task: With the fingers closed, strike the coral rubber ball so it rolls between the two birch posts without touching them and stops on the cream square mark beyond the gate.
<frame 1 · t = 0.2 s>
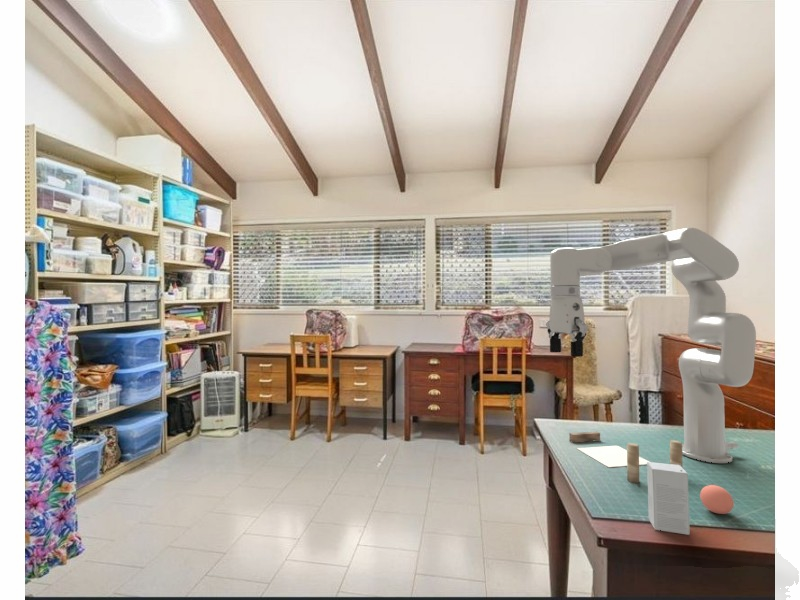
hand: (565, 354, 105), 31 cm above the table, tool pointing down, fingers open, 9 cm apart
skincare box: (667, 528, 76), on the table
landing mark: (613, 456, 112), on the table
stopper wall: (584, 440, 124), on the table
ball: (716, 499, 81), on the table
post far: (633, 480, 96), on the table
post near: (676, 477, 98), on the table
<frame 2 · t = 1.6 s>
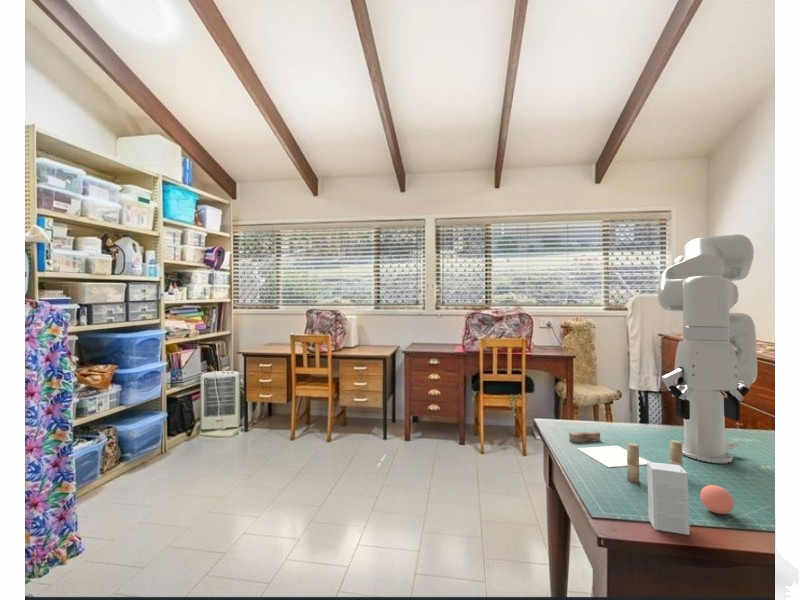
hand: (707, 418, 78), 21 cm above the table, tool pointing down, fingers open, 9 cm apart
nothing on the table moved.
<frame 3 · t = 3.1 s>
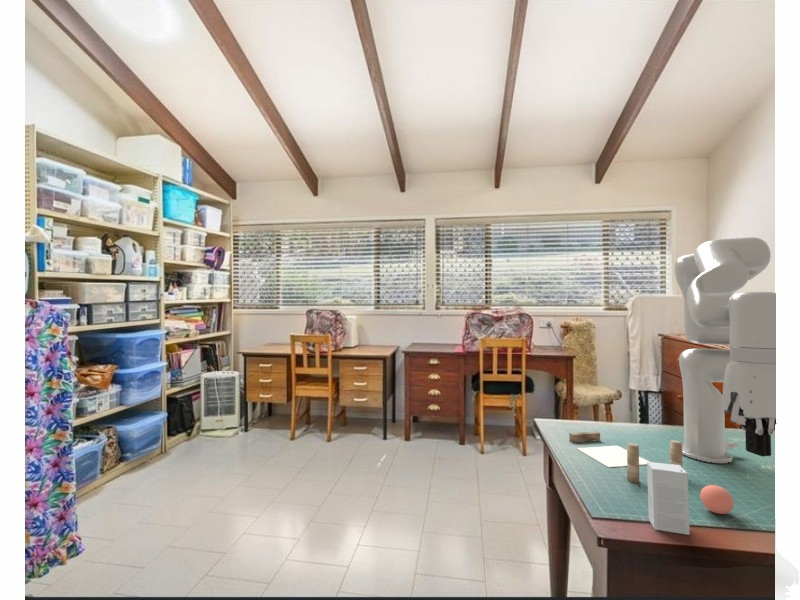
hand: (758, 453, 72), 16 cm above the table, tool pointing down, fingers closed
nothing on the table moved.
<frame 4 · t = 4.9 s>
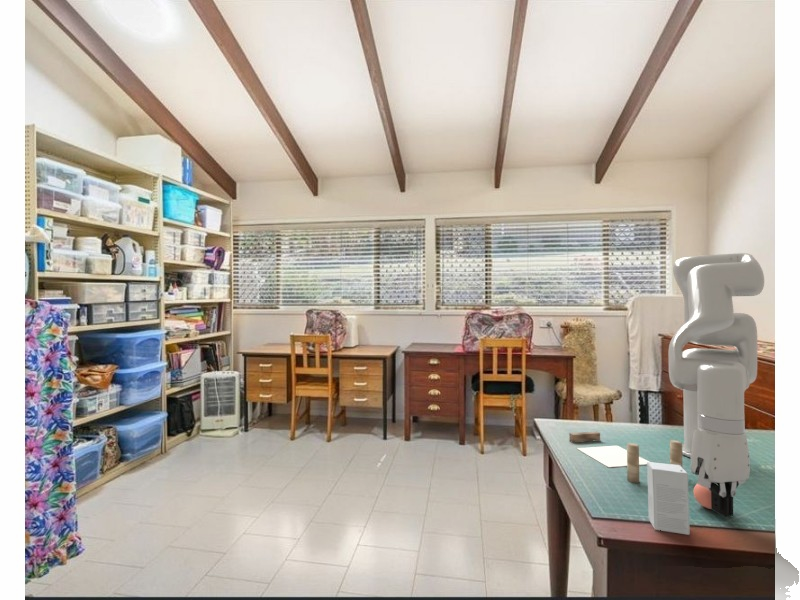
hand: (722, 512, 78), 1 cm above the table, tool pointing down, fingers closed
ball: (709, 495, 83), on the table
everything else where it was.
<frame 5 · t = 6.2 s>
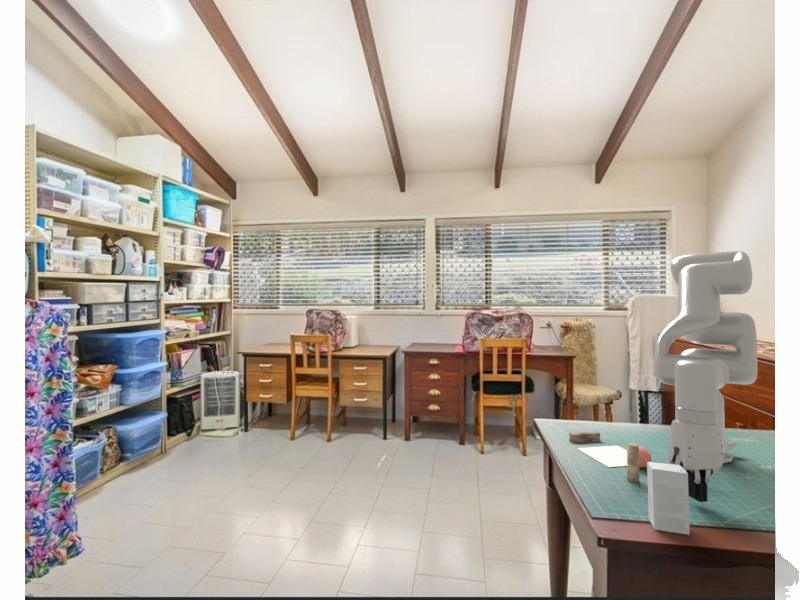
hand: (697, 498, 84), 2 cm above the table, tool pointing down, fingers closed
ball: (639, 456, 104), on the table
everything else where it was.
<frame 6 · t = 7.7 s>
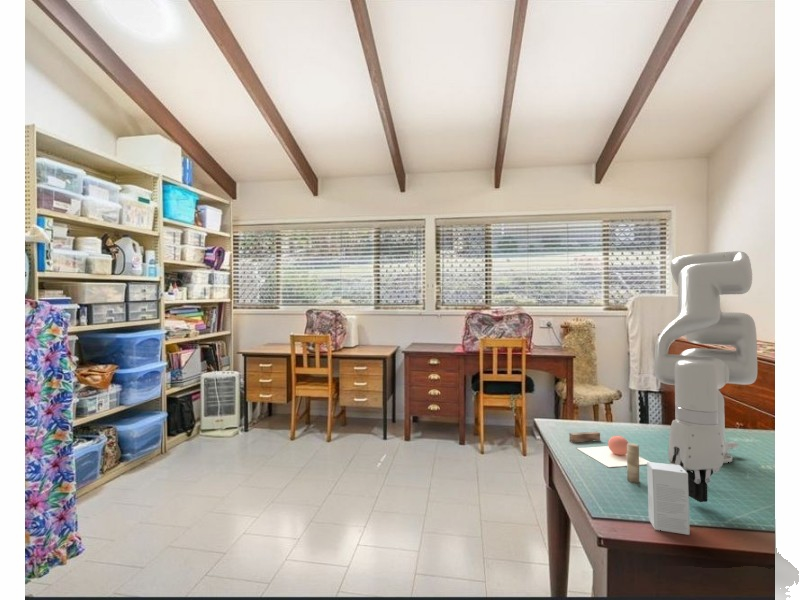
hand: (697, 498, 84), 2 cm above the table, tool pointing down, fingers closed
ball: (618, 445, 113), on the table
everything else where it was.
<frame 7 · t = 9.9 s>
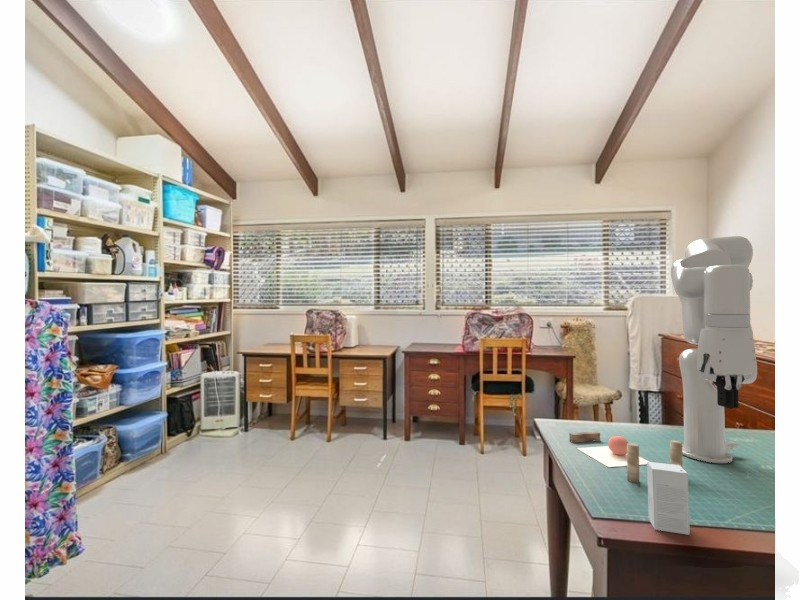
hand: (727, 406, 82), 23 cm above the table, tool pointing down, fingers closed
nothing on the table moved.
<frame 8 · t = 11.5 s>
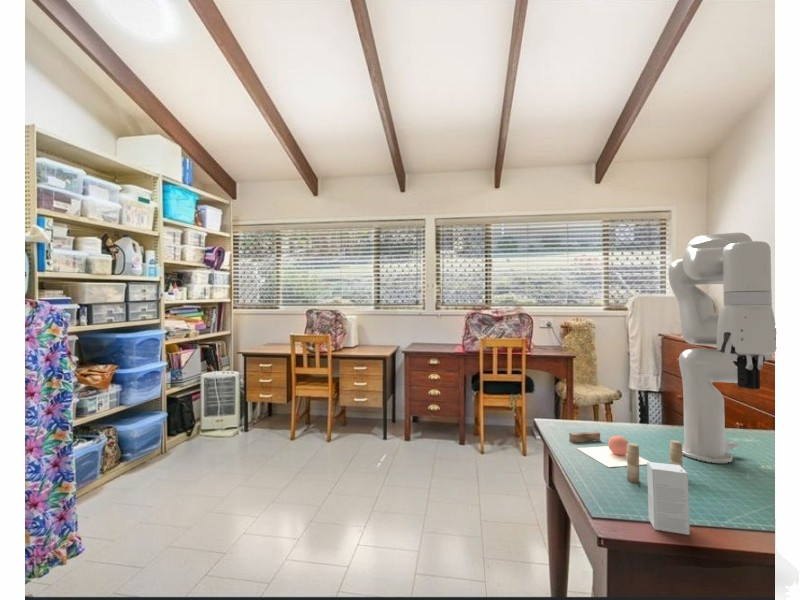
hand: (748, 387, 79), 27 cm above the table, tool pointing down, fingers closed
nothing on the table moved.
at the end: ball 2.5 cm from the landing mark (horizontally); ball never touched post far; ball never touched post near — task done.
